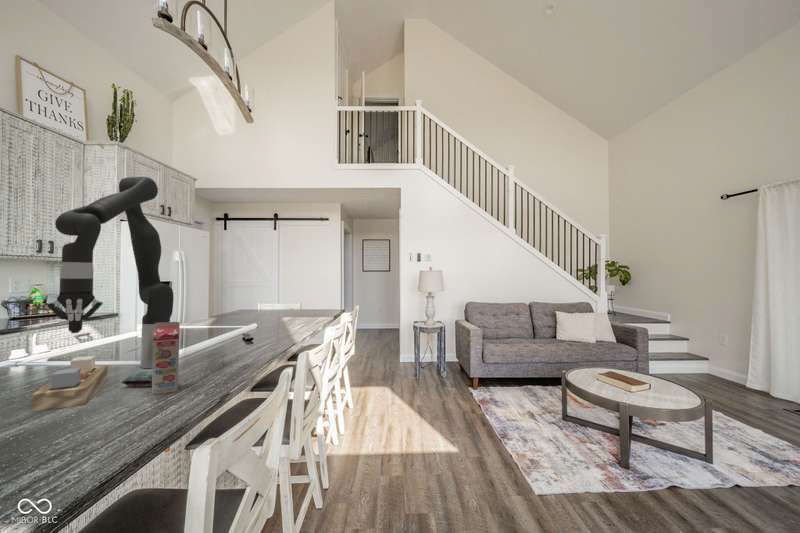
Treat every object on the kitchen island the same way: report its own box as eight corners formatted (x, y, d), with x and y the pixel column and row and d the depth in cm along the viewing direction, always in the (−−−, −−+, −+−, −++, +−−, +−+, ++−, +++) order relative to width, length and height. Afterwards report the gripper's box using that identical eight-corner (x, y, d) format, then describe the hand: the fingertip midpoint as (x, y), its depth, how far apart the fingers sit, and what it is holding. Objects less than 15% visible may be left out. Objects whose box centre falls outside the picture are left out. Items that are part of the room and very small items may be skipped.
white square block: (94, 367, 117) (95, 355, 117) (90, 371, 112) (91, 359, 112) (75, 369, 114) (75, 357, 114) (70, 373, 110) (70, 360, 110)
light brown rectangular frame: (107, 378, 120) (107, 365, 120) (85, 404, 98) (86, 388, 98) (65, 383, 115) (65, 369, 115) (31, 411, 92) (32, 394, 92)
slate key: (80, 381, 103) (80, 367, 103) (75, 386, 99) (75, 372, 99) (57, 383, 100) (58, 369, 100) (51, 388, 96) (51, 374, 96)
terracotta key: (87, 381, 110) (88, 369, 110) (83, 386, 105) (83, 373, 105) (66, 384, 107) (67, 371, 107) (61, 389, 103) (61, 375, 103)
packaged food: (137, 380, 120) (137, 366, 120) (173, 379, 121) (173, 366, 121) (120, 389, 111) (120, 374, 111) (159, 388, 112) (159, 373, 112)
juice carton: (153, 388, 112) (155, 321, 112) (178, 384, 116) (179, 320, 116) (151, 394, 106) (153, 324, 107) (177, 391, 110) (179, 323, 110)
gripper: (107, 276, 113) (105, 329, 112) (52, 276, 106) (50, 332, 106) (101, 277, 106) (99, 333, 106) (42, 277, 99) (40, 336, 99)
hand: (75, 332), depth 106 cm, fingers closed
